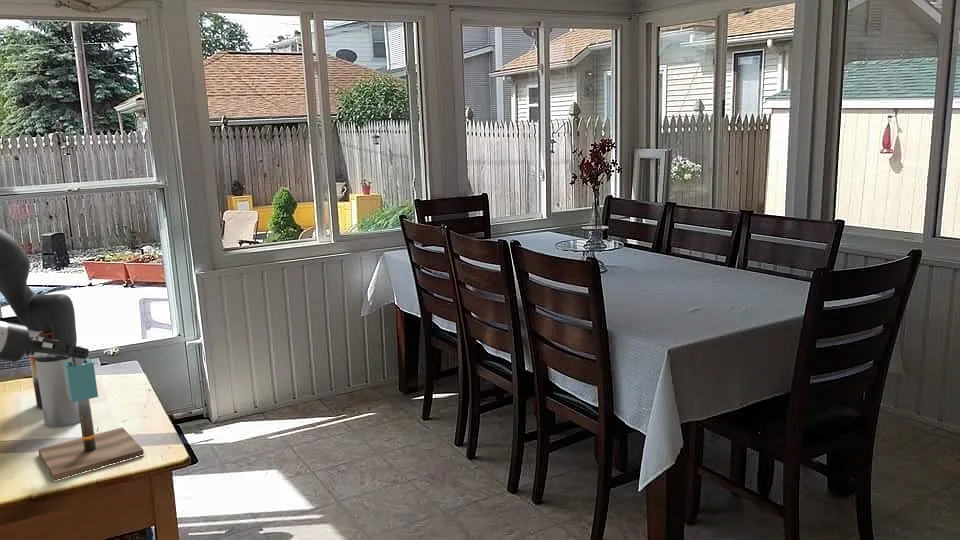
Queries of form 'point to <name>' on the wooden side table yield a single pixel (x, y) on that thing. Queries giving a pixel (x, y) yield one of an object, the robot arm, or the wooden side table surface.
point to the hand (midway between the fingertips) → (77, 354)
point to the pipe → (85, 417)
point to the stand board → (89, 453)
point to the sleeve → (80, 380)
